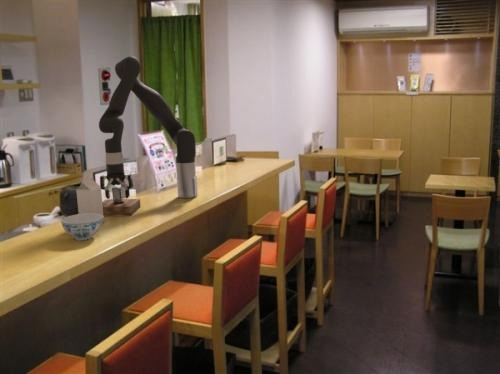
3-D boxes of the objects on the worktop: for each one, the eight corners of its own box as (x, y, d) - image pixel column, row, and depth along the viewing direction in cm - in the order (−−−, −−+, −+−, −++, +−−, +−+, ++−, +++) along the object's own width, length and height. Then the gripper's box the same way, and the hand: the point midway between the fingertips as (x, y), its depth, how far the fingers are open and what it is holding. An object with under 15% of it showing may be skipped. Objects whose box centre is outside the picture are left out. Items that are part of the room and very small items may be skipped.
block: (140, 207, 269) (139, 198, 268) (131, 215, 253) (130, 206, 253) (106, 207, 270) (105, 199, 269) (95, 216, 254) (94, 207, 254)
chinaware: (93, 244, 212) (91, 223, 211) (55, 243, 215) (53, 223, 213) (110, 232, 227) (108, 213, 225) (74, 232, 229) (72, 213, 228)
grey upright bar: (124, 208, 263) (122, 186, 261) (121, 210, 259) (119, 188, 258) (115, 208, 264) (113, 186, 262) (112, 210, 260) (110, 188, 258)
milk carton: (104, 222, 244) (100, 177, 240) (94, 226, 237) (90, 180, 233) (89, 221, 246) (85, 177, 242) (79, 225, 239) (75, 180, 236)
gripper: (132, 160, 260) (135, 196, 264) (101, 161, 261) (104, 196, 265) (128, 163, 253) (131, 199, 256) (96, 164, 254) (99, 200, 257)
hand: (117, 198), depth 260 cm, fingers open, 8 cm apart
